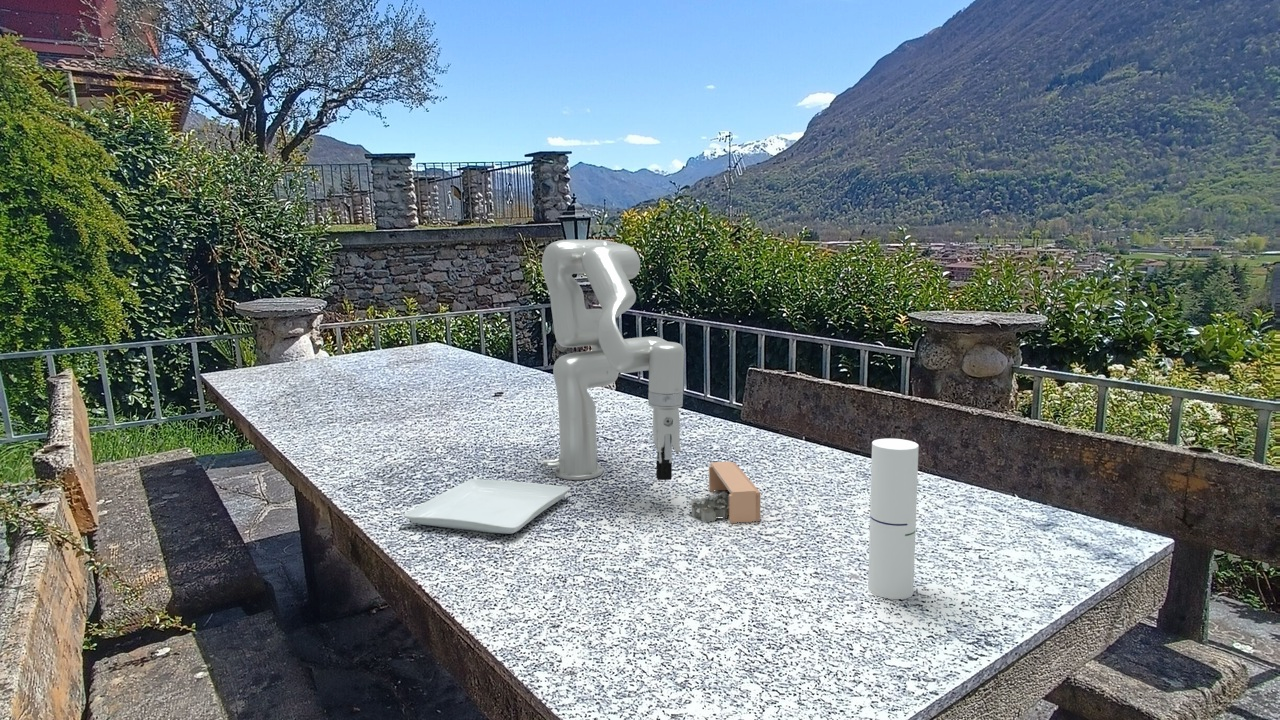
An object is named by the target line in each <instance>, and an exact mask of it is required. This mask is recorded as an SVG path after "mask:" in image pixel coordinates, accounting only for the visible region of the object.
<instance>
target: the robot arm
mask: <svg viewBox="0 0 1280 720" xmlns="http://www.w3.org/2000/svg"><path fill="white" fill-rule="evenodd" d="M541 268H542V269H541V270H542V275H543V278H544V281H545V284H546V286H547V291H548V293H549V299H550V306H551V315H552V322H553V331H554V336H555V340H556V342H557V344H558V345H559V347H563V348H581V347H591V350H589V351H587V350H586V351H577V352H569V353H566V354H564V355H561V356H559V357H558V358H557V359H556V360H555V362H554V364H553V368H552V370H553V371H552V372H553V379H554V384H555V388H556V393H557V401H558V407H557V408H558V423H559V424H558V426H559V427H558V430H559V454H558V457H555V458H553V459H552V458H543V459H542V466H543V467H547V469H552V468H555V469H554V475H555V476H556V477H558V478H560V479H563V480H568V481H569V480H571V481H581V480H590V479H594V478H598V477H600V476H601V475H603V473H604V467H603V466H602V465H601V464H598V446H597V444H598V440H597V416H596V415H597V414H596V412H597V408H596V404H595V401H594V399H593V397H592V396H591V395H590V393H589V392H588V390H589V389H593V388H599V387H600V388H601V387H606V386H610V385H612V384H614V383H615V382H616V381H617V379H618V377H619V374H620V373H621V374H628V373H629V374H630V373H638V372H643V371H644V372H645V371H648V394H647V395H648V397H647V398H648V401H647V402H648V403H647V404H648V407H650V408H652V439H653V440H652V441H653V445H654V446H655V449H656V459H657V460H656V468H655V469H656V472H655V473H656V475H655V477H656V479H657V480H658V481H670V480H672V468H673V467H672V466H673V460H672V455H673V450H674V452H675V453H676V454H677V453H679V452H680V451H681V436H680V435H681V434H680V428H681V427H680V408H682V407H683V402H684V401H683V400H684V365H685V364H684V363H685V361H684V360H685V348H684V347H683V345H682V343H678V342H676V341H667V340H665V339H663V338H661V337H659V336H651V335H650V336H642V337H641V336H639V337H632V338H631V337H629V338H624V337H623V335H622V333H621V331H620V330H619V327H618V323H617V318H618V317H619V316H621V315H622V314H624V313H626V312H628V311H629V310H630V309H631V308H632V306H633V305H634V304H635V303H636V300H637V294H636V292H635V290H634V288H633V286H632V284H631V283H630V281H629V280H632V279H635V278H636V277H637V276H638V274H639V272H640V271H641V259H640V257H639V254H638V253H637V251H636V250H635V249H634V248H633V247H632V246H630V245H628V244H623V243H619V242H614V241H611V240H606V239H605V240H604V239H560V240H557V241H553V242H551V243H550V244H548V245H547V246H546V247H545V249H544V251H543V255H542V258H541ZM578 274H579V275H581V274H582V275H583V274H584V275H585V276H586V277H587V280H588V282H589V284H590V287H591V288H592V290H593V293H594V295H595V297H596V298H597V301H598V303H599V305H600V306H601V308H586V304H585V296H584V292H583V289H582V287H581V286H580V284H579V282H578V281H577V280H576V279H575V278H574V277H573V275H578Z"/></svg>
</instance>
